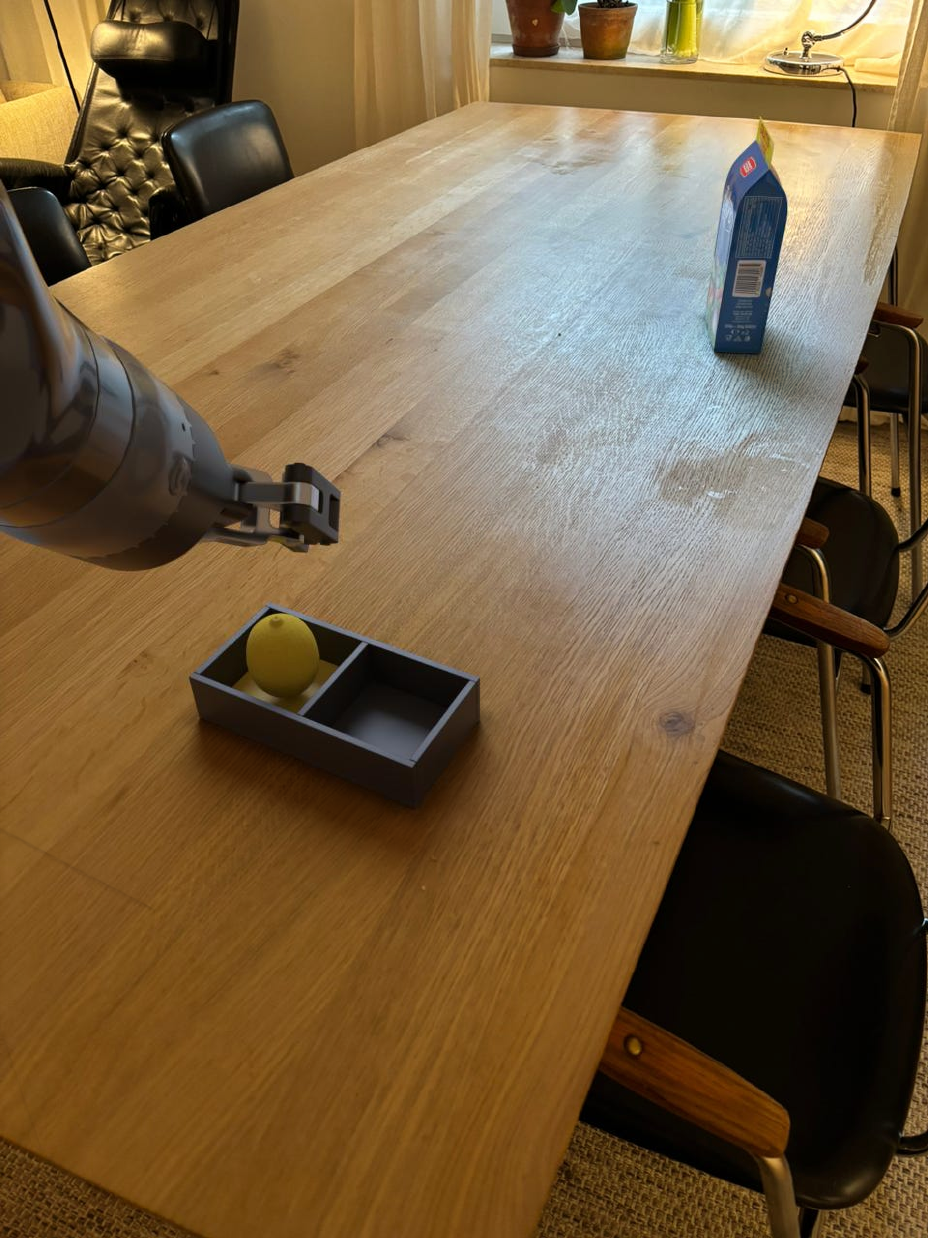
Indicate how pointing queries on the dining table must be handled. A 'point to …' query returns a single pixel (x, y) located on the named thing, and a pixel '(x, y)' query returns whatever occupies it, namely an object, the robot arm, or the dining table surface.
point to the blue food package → (746, 250)
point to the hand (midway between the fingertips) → (222, 530)
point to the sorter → (348, 709)
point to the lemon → (282, 655)
